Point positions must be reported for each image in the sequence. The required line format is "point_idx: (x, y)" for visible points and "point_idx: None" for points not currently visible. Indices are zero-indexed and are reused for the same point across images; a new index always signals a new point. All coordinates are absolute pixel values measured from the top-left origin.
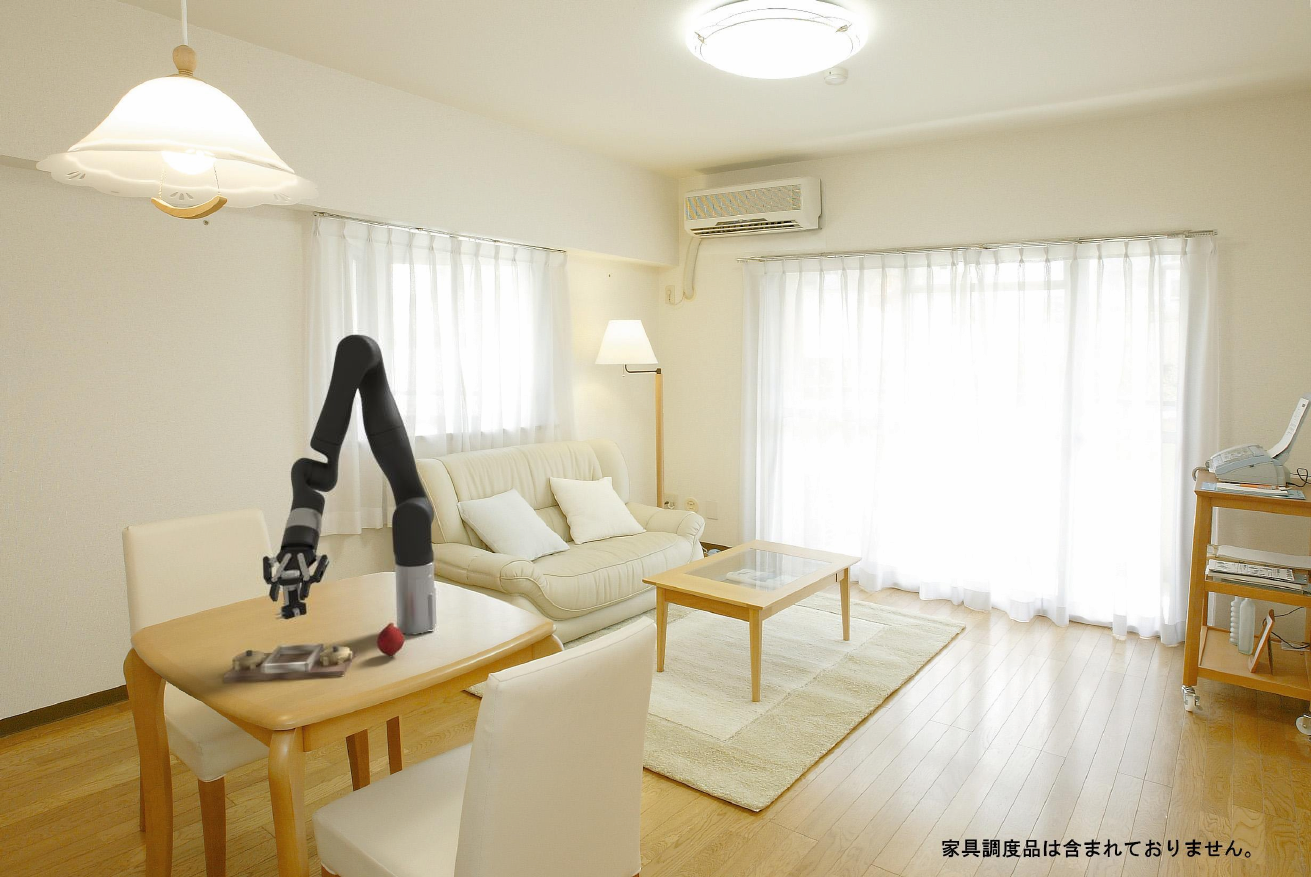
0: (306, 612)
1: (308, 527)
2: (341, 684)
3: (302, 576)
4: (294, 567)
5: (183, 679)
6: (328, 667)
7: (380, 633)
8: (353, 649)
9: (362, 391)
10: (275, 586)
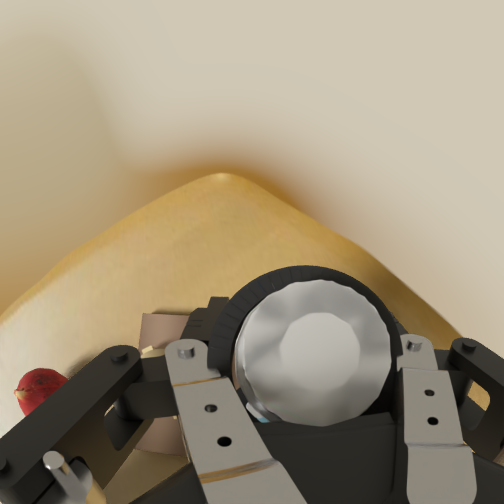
0: None
1: None
2: (147, 277)
3: (211, 338)
4: (313, 435)
5: (460, 336)
6: (176, 339)
7: (50, 391)
8: (139, 443)
9: None
10: None
